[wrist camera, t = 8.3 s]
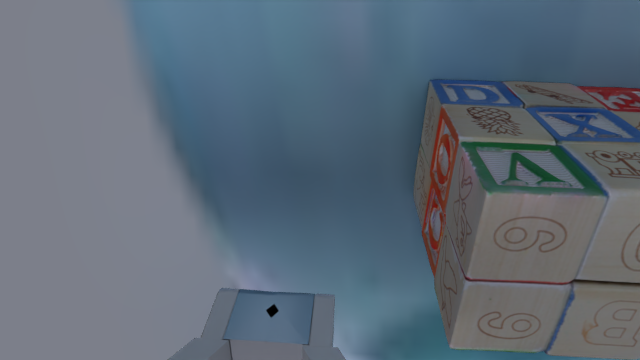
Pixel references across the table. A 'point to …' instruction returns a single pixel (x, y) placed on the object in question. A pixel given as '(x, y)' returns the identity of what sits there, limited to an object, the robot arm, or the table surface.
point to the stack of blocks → (533, 215)
